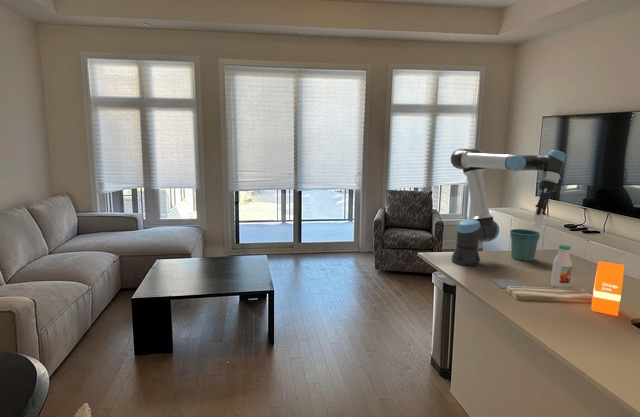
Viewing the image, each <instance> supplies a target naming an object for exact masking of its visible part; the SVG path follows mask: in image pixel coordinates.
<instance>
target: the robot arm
mask: <svg viewBox="0 0 640 417" xmlns="http://www.w3.org/2000/svg"><path fill="white" fill-rule="evenodd" d="M566 157H567V156H566V153H565V152H563V151H560V150H557V149H552V150H550V151H549V152H548V153H547V155H546V154H545V155H541V154H540V155H534V154H533V155H532V154H529V155H528V154H507V153H506V154H503V153H501V154H500V153H485V152H484V151H482V150H481V149H477V148H459V149H455V150H454V151H453V152H452V154H451V155H450V164H451V166H453V167H454V168H456V169H459V170H462V172H463V175H465V176H466V178H467V179H466V180H467V185H468V190H469V198H470V201H471V202H470V204H471V209H472V214H473V217H472V218H471V219H464V220H463V219H462V220H460V221H458V223H457V228H456V239H455V240H456V241H455V243H456V244H455V248H454V250H453V252H452V255H451V262H452V263H453V264H457V265H462V266H467V267H468V266H469V267H471V266H472V267H475V266H479V265H480V264H481V257H480V253H479V243H485V242H487V243H488V242H492V241H494V240H495V239H497V237H499V234H500V226H499V224H498V223H497V222H496V221H495V220H494V216H493V215H491V214H490V209H489V205H488V199H487V193H486V187H485V181H484V175H483V173H484V172H485V169H493V170H494V169H495V170H508V171H509V170H510V171H513V172H519V171H522V172H523V171H539V172H540V171H541V172H542V174H541V177H540V180H539V181H540V182H539V184H538V189H539V190H540V191H541V192H540V196H539V198H538V202H537V204H535V208H536V209H535V213H534V215H533V216H534V217H533V220H532V222H535V224H534V227H537V228H541V227H542V225H543V221H544V217H545V216H547V213H546V212H547V211H546V210H547V207H548V203H549V202H550V201H549V200H550V198H551V193H555V192H556V191H557V188H558V183H559V180H561V174H562V170H563V168H564V164H565V160H566Z"/></svg>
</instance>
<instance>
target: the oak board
mask: <svg viewBox="0 0 640 417" xmlns="http://www.w3.org/2000/svg"><path fill="white" fill-rule="evenodd" d="M524 286H525V285H523V286H506V288H505V289H504V290H505V291H506V293H508V294H509V295H510V296H512V297H513V299H515V300H517V301H537V302H538V301H540V302H564V303H567V302H568V303H589V304H590V303H591V304H592V298H593V294H591V293H589V292H587V291H586V290H584V289H583V288H575V287H572V288H571V287H569V288H556V287H552V286H551V287H548V286H545V287H544V286H525V287H524Z"/></svg>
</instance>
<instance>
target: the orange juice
mask: <svg viewBox="0 0 640 417" xmlns="http://www.w3.org/2000/svg"><path fill="white" fill-rule="evenodd" d="M624 270H625V264H621V263H620V264H619V263H614V262H606V261H601V260H600V261H598V263H597V268H596V272H595V278H594V285H593V292H592V295H593V298H592V303H591V311H592V312H595V313H596V312H598V313H602V314H605V315H611V316H619V310H620V309H619V308H620V302H621V297H622V292H623V291H622V290H623V289H622V288H623V282H624V273H625V272H624Z"/></svg>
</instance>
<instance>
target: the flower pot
mask: <svg viewBox="0 0 640 417" xmlns="http://www.w3.org/2000/svg"><path fill="white" fill-rule="evenodd" d="M509 233H510V239H511V240H510V248H511V249H510V252H511V254H510V255H511V256H510V257H511V258H512V259H514V260H516V261H524V262H533V261H534V260H535V257H536V252H537V247H538V242H539V240H540V236H541V235H542V233H541V232H540V231H537V230H532V229H527V228H526V229H525V228H514V229H510V230H509Z"/></svg>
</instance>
